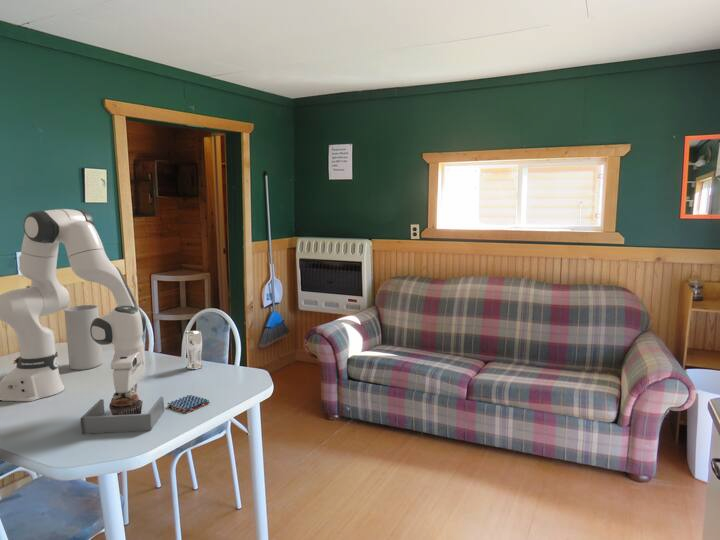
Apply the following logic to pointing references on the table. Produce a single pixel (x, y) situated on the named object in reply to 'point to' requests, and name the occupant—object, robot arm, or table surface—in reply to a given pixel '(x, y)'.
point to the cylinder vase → (82, 337)
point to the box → (120, 419)
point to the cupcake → (125, 404)
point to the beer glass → (193, 349)
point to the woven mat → (188, 403)
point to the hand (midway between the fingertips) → (133, 396)
